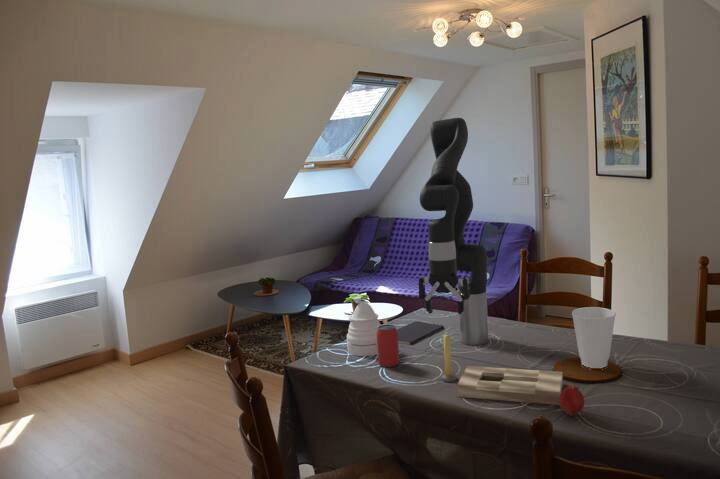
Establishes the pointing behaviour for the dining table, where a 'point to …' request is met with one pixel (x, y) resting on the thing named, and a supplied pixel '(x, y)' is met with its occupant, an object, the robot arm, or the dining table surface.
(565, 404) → the onion
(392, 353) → the beer can
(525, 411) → the dining table surface
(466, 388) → the keyhole board
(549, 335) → the dining table surface
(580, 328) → the cup
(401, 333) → the notebook
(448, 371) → the headed peg
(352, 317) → the honey pot
